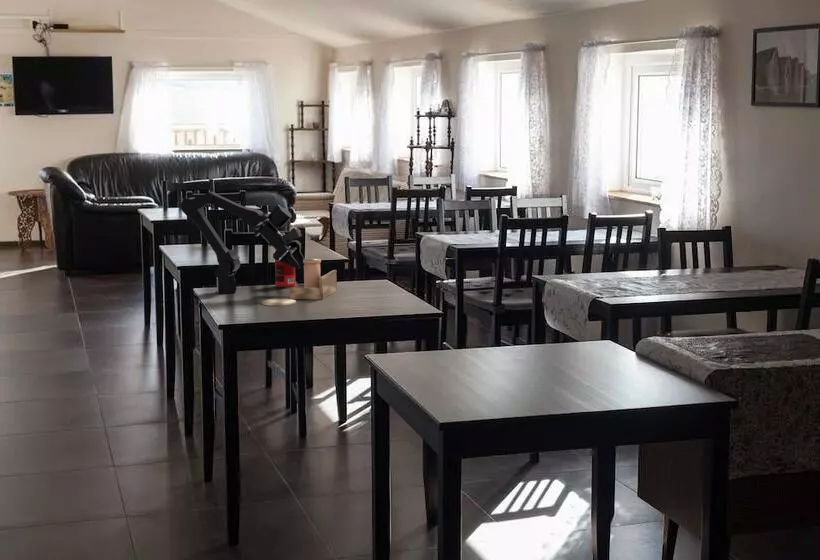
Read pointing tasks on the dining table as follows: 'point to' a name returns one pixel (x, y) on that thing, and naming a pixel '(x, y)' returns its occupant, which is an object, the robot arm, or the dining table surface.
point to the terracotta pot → (311, 273)
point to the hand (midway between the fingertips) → (303, 266)
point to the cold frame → (325, 288)
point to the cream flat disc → (278, 302)
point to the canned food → (284, 275)
